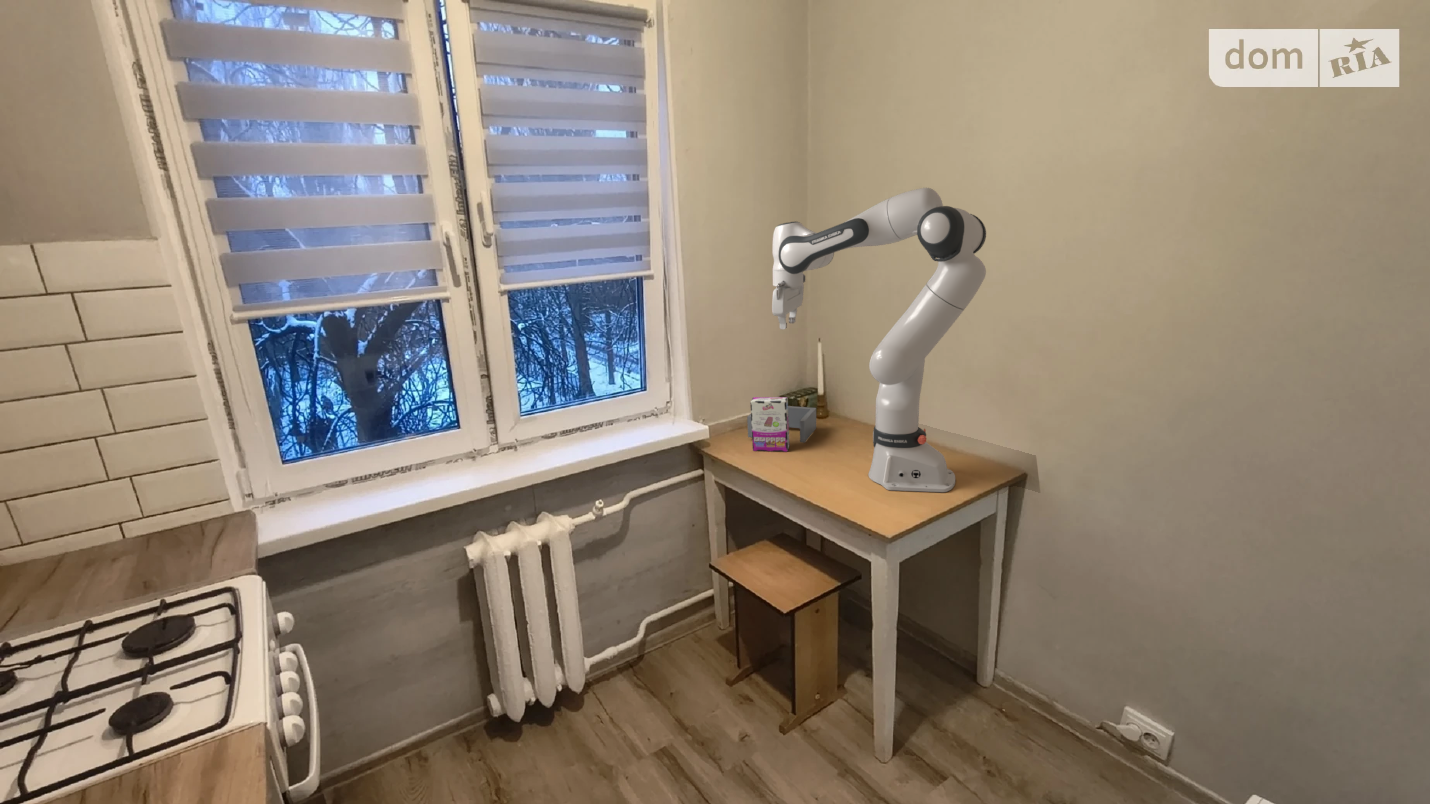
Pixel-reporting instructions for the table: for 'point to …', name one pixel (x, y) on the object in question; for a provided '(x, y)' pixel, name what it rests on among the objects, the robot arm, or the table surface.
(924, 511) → the table surface
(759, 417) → the candy bar box
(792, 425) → the gray u-shaped holder
